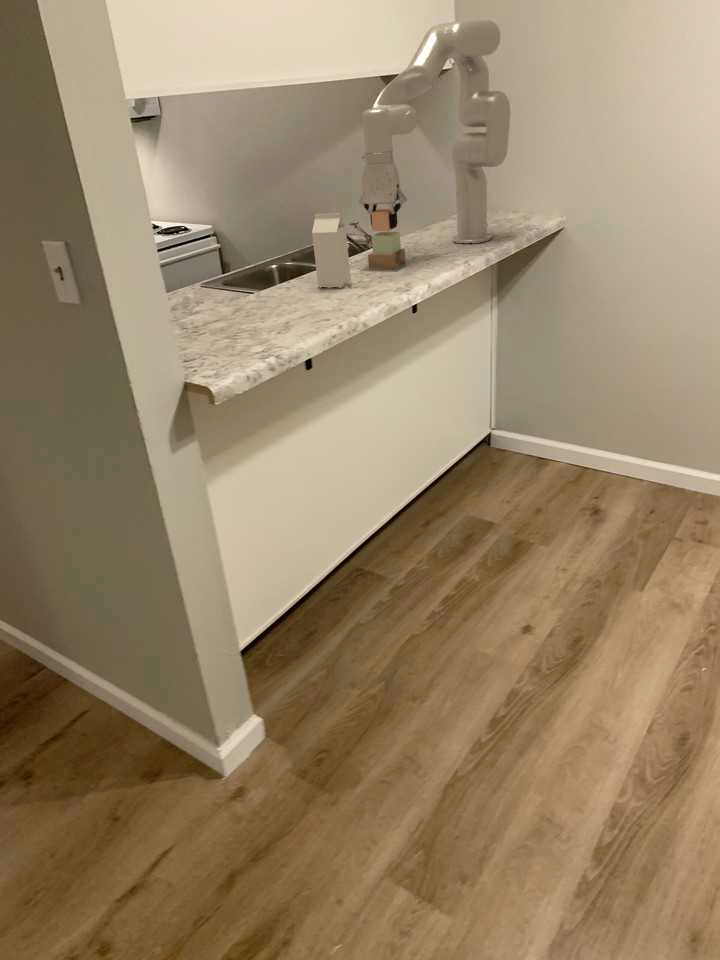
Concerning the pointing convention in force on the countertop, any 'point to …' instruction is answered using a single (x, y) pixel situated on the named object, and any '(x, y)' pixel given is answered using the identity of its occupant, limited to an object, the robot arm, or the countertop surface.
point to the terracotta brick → (381, 220)
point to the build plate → (387, 269)
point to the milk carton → (331, 250)
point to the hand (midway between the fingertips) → (384, 227)
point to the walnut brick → (386, 260)
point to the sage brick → (386, 242)
